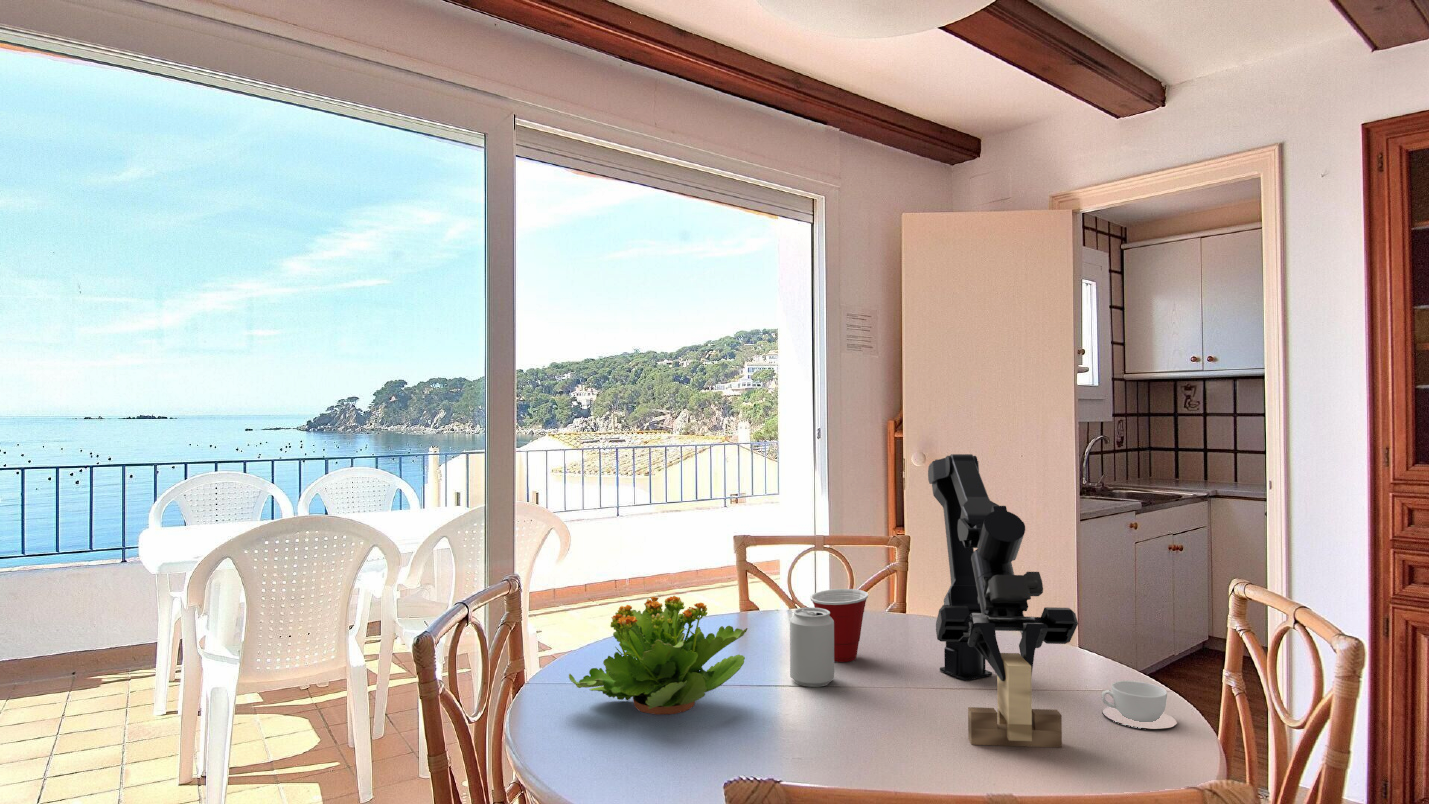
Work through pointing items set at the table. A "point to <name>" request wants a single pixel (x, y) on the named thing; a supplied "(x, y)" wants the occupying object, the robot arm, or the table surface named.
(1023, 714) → the tall wooden block
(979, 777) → the table surface
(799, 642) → the can
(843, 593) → the plastic cup
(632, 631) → the potted flower
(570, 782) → the table surface
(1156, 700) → the teacup
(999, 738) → the lower notched wooden block
